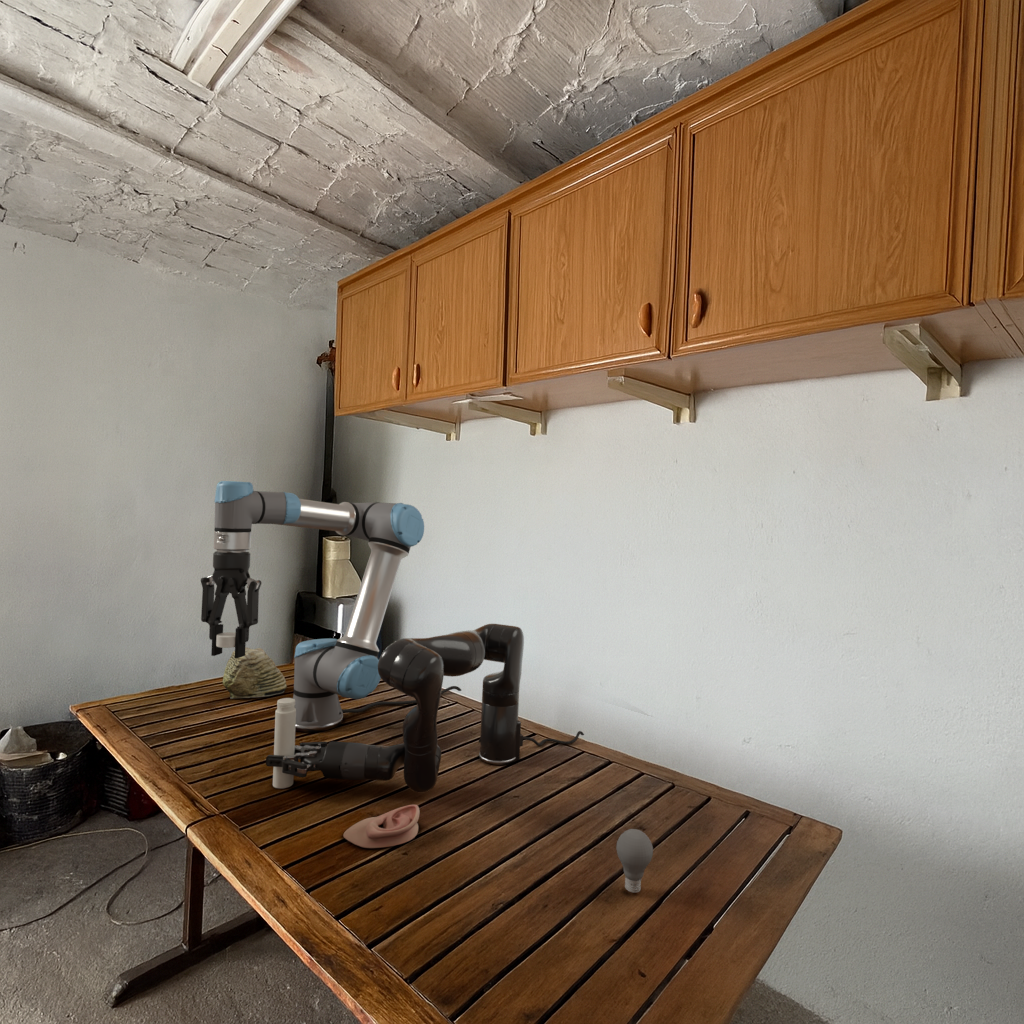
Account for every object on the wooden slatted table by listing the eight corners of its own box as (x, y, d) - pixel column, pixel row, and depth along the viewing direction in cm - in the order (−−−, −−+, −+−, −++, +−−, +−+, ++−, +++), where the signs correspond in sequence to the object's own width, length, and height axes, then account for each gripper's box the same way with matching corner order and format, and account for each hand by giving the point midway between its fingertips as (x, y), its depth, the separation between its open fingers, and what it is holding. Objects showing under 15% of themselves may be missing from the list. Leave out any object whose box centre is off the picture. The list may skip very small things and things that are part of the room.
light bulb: (610, 879, 108) (613, 822, 108) (644, 879, 109) (647, 822, 109) (619, 902, 102) (622, 840, 102) (655, 901, 103) (658, 840, 103)
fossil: (218, 695, 195) (220, 647, 195) (278, 685, 208) (279, 640, 207) (228, 703, 189) (230, 653, 188) (289, 692, 201) (290, 645, 201)
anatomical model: (336, 822, 116) (363, 794, 127) (335, 843, 116) (362, 813, 127) (404, 832, 113) (426, 803, 124) (403, 854, 113) (425, 823, 124)
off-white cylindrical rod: (287, 789, 136) (290, 704, 136) (269, 787, 137) (272, 702, 137) (296, 780, 141) (299, 698, 140) (278, 779, 141) (281, 696, 141)
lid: (233, 641, 144) (234, 631, 144) (245, 645, 141) (245, 635, 141) (211, 644, 140) (212, 634, 140) (223, 649, 137) (223, 638, 137)
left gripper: (184, 549, 138) (180, 655, 138) (259, 554, 135) (255, 663, 135) (207, 547, 145) (203, 648, 146) (278, 552, 142) (274, 655, 142)
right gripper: (358, 731, 145) (285, 727, 146) (338, 756, 131) (257, 751, 132) (357, 764, 145) (284, 759, 146) (337, 792, 131) (256, 787, 132)
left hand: (228, 655), depth 140 cm, fingers closed on lid, 5 cm apart
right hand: (271, 755), depth 139 cm, fingers closed on off-white cylindrical rod, 4 cm apart
